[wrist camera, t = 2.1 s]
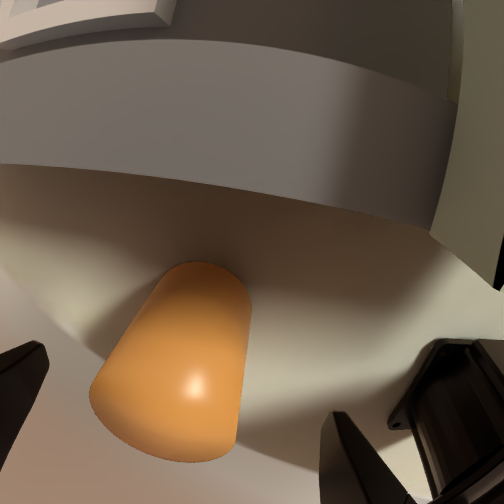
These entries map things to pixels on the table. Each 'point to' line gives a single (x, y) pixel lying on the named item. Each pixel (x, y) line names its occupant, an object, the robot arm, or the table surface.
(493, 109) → the lid
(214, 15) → the housing
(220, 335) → the orange rounded cylinder
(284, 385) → the table surface
